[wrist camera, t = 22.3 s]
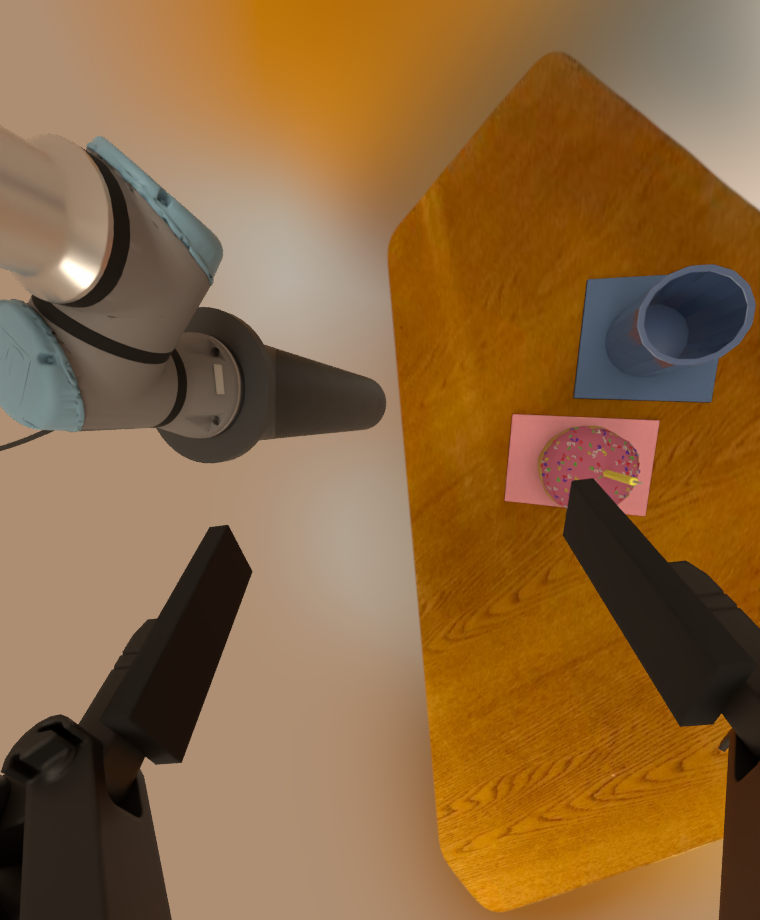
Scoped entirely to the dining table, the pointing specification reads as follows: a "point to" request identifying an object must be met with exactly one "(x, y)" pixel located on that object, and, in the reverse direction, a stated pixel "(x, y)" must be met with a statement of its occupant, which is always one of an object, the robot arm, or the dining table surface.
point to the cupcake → (588, 463)
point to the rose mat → (539, 429)
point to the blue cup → (682, 322)
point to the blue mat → (606, 379)
